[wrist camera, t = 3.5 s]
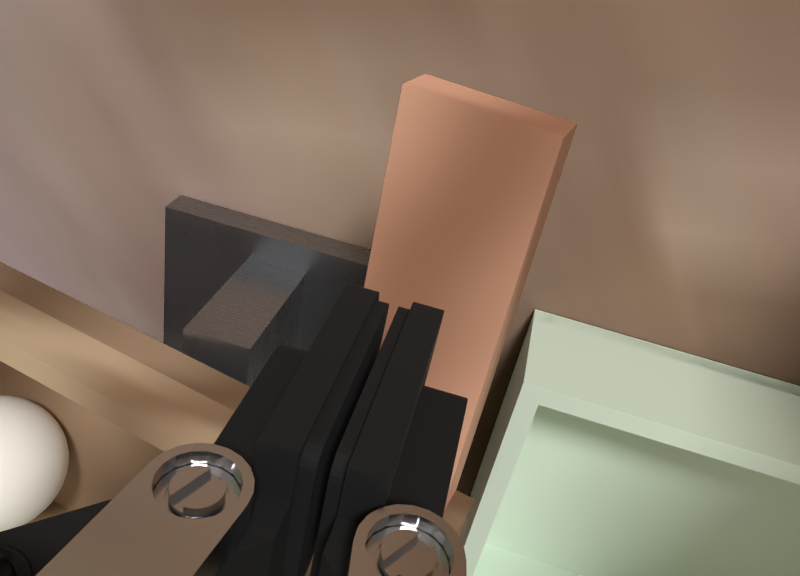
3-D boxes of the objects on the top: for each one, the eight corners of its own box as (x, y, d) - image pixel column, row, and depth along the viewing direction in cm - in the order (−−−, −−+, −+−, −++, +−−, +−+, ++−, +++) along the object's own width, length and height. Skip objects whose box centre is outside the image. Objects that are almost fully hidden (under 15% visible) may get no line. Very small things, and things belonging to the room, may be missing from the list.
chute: (604, 132, 13) (542, 207, 9) (405, 695, 22) (341, 825, 19) (-48, -81, 17) (-241, -80, 14) (24, 465, 27) (-80, 540, 24)
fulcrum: (405, 260, 24) (358, 352, 19) (351, 504, 30) (306, 617, 25) (180, 195, 25) (84, 268, 20) (174, 446, 31) (99, 545, 26)
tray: (956, 431, 22) (1019, 532, 19) (784, 640, 28) (810, 745, 25) (535, 308, 23) (523, 382, 20) (457, 532, 29) (438, 618, 26)
